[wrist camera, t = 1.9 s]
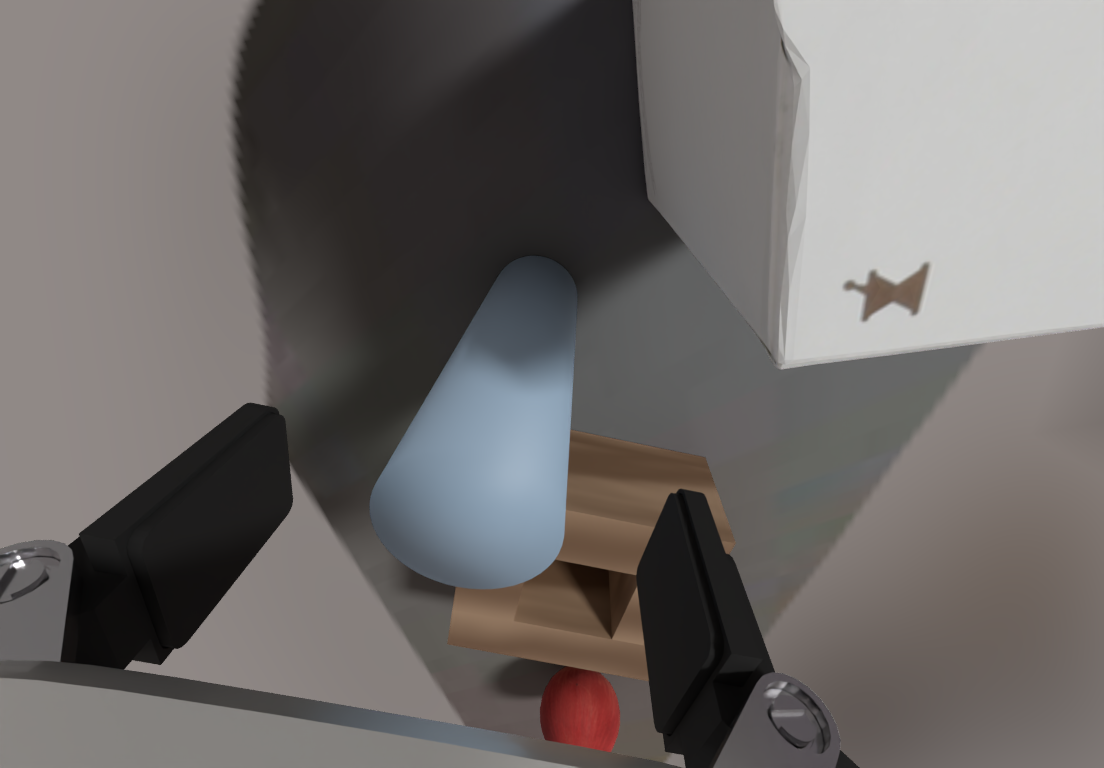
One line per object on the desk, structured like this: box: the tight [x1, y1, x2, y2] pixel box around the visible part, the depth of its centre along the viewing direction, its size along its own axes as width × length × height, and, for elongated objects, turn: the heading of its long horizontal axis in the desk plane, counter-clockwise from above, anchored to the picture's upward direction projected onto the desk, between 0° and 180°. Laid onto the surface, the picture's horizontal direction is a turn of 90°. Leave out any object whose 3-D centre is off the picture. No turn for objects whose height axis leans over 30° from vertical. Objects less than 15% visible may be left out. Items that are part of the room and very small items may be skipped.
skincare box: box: [632, 0, 1104, 369], centre depth 10 cm, size 8×7×16 cm
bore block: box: [447, 430, 736, 681], centre depth 25 cm, size 12×12×6 cm
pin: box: [369, 256, 578, 589], centre depth 15 cm, size 4×4×14 cm
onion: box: [540, 666, 620, 752], centre depth 33 cm, size 6×6×8 cm
